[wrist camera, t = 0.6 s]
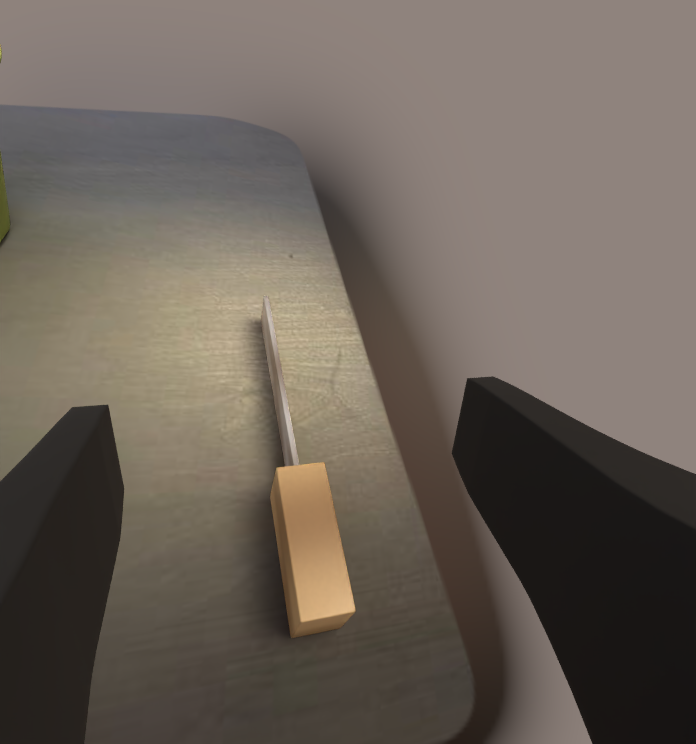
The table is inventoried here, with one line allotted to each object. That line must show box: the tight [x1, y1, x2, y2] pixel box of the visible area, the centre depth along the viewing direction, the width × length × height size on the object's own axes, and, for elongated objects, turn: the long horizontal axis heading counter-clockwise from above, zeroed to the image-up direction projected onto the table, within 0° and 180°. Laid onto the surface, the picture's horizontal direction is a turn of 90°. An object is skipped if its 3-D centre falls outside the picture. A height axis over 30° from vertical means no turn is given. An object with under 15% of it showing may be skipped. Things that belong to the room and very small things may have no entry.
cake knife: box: [261, 296, 356, 638], centre depth 29 cm, size 19×2×3 cm, turn 13°
